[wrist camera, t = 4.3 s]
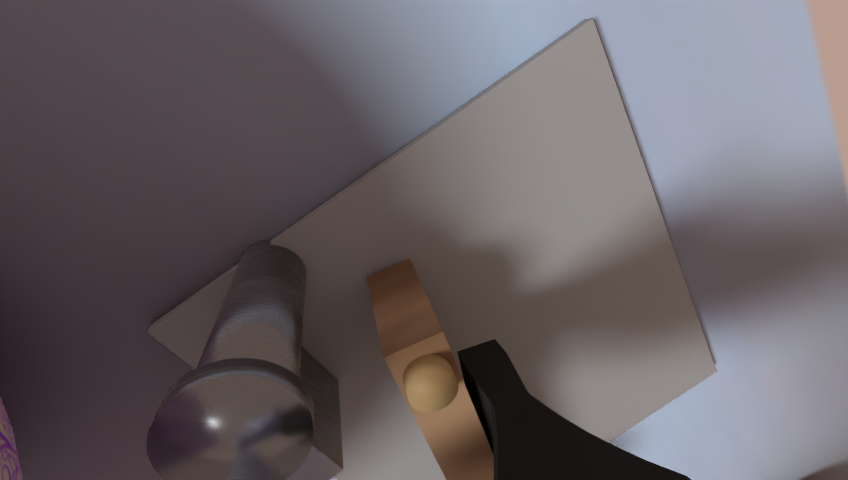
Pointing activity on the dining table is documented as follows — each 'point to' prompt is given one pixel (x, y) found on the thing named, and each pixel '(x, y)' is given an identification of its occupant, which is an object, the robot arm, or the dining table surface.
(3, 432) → the bowl of food
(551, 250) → the base mat
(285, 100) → the dining table surface
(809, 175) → the dining table surface
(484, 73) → the dining table surface
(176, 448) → the latch post
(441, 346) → the gate
